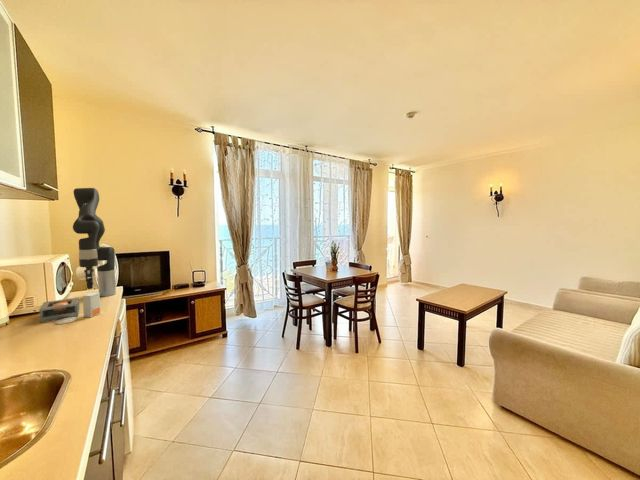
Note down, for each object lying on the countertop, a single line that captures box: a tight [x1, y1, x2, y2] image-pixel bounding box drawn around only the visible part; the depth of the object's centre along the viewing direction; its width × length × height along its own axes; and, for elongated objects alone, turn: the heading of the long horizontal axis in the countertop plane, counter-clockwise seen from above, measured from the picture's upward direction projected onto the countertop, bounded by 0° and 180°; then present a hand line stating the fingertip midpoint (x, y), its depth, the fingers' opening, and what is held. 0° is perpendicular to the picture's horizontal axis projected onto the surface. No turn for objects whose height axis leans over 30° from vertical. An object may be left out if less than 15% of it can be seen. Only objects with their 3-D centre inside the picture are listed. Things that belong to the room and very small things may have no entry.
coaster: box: [55, 316, 78, 325], centre depth 134 cm, size 8×8×1 cm
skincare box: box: [82, 292, 101, 318], centre depth 142 cm, size 6×4×12 cm
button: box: [52, 302, 68, 311], centre depth 141 cm, size 6×6×3 cm
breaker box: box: [38, 297, 80, 323], centre depth 141 cm, size 14×14×7 cm
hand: (90, 287), depth 141 cm, fingers open, 8 cm apart
